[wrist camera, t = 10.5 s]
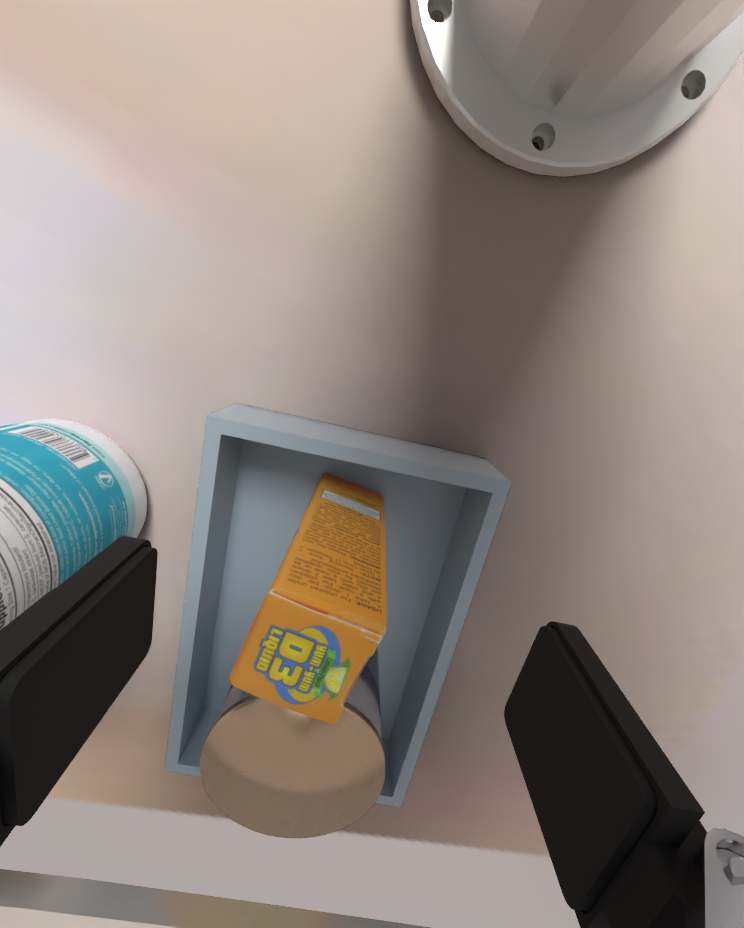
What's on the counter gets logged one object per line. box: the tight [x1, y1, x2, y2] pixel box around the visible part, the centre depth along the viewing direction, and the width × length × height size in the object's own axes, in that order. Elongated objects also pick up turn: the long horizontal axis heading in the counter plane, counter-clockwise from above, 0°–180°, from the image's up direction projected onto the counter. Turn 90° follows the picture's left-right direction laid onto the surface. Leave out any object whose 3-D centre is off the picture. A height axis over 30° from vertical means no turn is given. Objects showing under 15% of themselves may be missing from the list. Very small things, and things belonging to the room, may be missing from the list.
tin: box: [200, 647, 385, 838], centre depth 19 cm, size 7×7×6 cm
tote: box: [164, 403, 512, 807], centre depth 19 cm, size 18×12×4 cm, turn 167°
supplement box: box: [229, 473, 387, 724], centre depth 15 cm, size 3×3×10 cm
